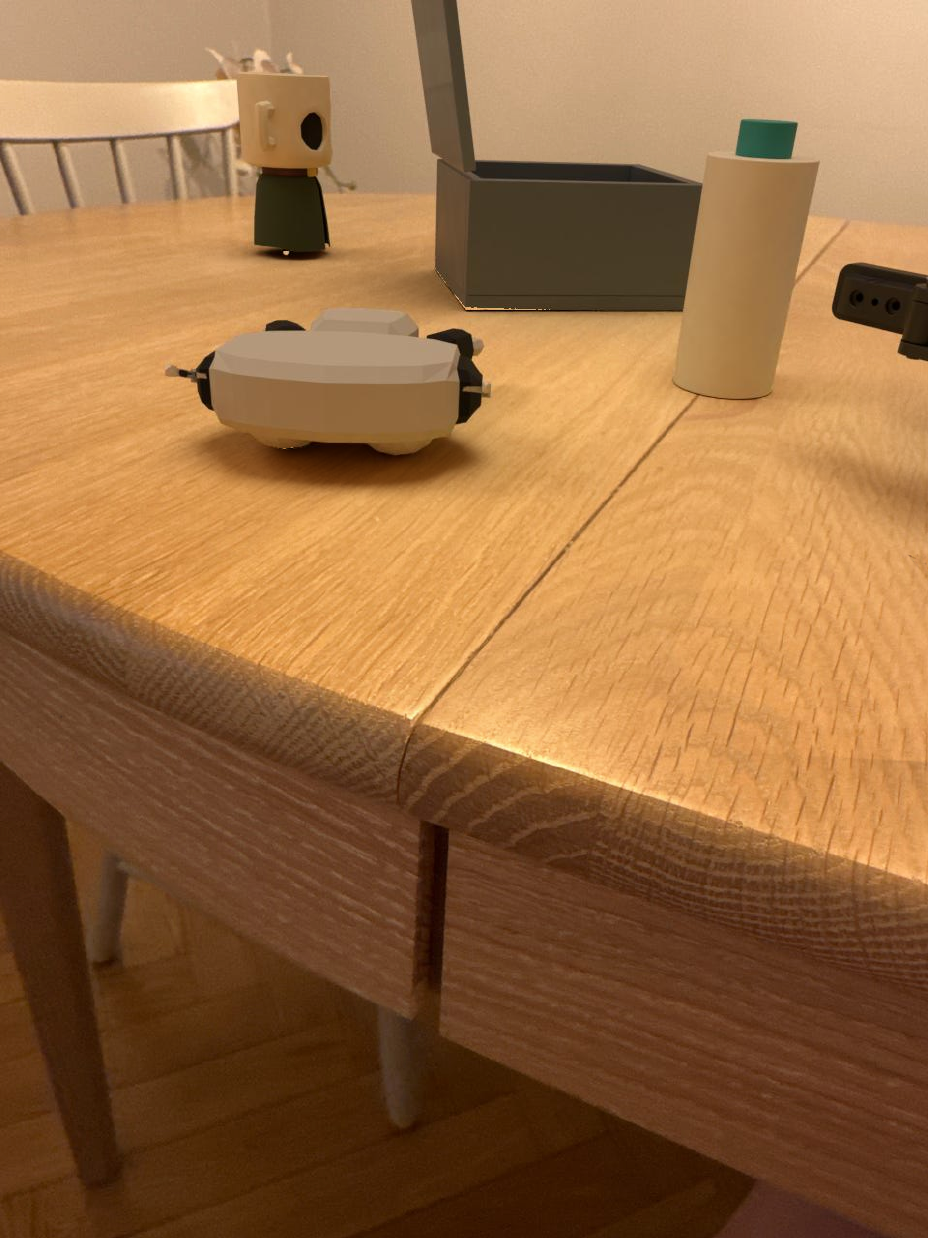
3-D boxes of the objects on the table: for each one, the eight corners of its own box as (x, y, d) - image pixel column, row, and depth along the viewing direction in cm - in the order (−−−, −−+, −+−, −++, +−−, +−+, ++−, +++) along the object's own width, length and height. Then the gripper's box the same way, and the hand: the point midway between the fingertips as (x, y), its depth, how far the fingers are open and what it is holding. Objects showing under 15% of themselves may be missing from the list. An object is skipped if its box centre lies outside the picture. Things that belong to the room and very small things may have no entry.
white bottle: (746, 369, 53) (794, 119, 46) (789, 398, 48) (849, 125, 42) (658, 370, 52) (695, 115, 46) (694, 400, 48) (741, 122, 41)
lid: (404, -132, 61) (392, -131, 61) (436, -177, 50) (421, -175, 49) (442, 150, 70) (431, 152, 70) (476, 170, 58) (464, 172, 58)
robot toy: (258, 385, 49) (166, 472, 36) (253, 295, 47) (154, 351, 34) (490, 397, 49) (485, 488, 36) (495, 307, 47) (491, 368, 34)
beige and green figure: (311, 267, 73) (302, 75, 67) (225, 260, 75) (209, 71, 68) (352, 245, 83) (349, 75, 76) (276, 239, 84) (266, 71, 77)
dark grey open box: (626, 271, 77) (639, 163, 73) (690, 310, 65) (710, 185, 61) (434, 270, 75) (436, 158, 70) (465, 310, 63) (469, 179, 59)
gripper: (1475, 234, 32) (1006, 180, 43) (1349, 268, 24) (819, 192, 35) (1359, 444, 36) (955, 345, 47) (1220, 529, 28) (778, 387, 39)
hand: (897, 279), depth 41 cm, fingers open, 8 cm apart
